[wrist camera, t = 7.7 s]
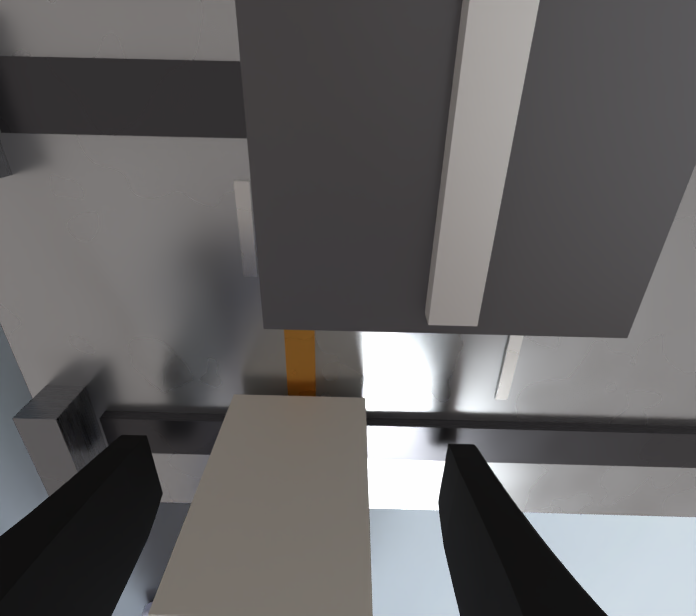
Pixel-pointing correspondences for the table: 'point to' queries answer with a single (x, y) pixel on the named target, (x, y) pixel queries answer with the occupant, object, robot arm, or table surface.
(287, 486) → the block
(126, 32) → the console
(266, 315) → the fader charcoal
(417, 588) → the table surface
